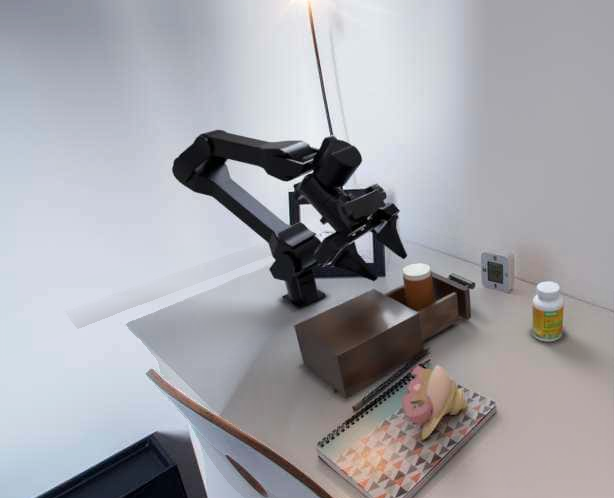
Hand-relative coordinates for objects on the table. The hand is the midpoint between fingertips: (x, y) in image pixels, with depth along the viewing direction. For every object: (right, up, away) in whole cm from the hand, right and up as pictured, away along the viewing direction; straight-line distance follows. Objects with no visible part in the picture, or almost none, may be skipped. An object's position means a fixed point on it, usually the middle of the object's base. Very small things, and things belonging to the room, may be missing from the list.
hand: (391, 268), depth 95 cm
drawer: (+6, -9, +4) cm, 12 cm away
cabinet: (-4, -16, -5) cm, 17 cm away
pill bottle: (+5, -9, +3) cm, 11 cm away
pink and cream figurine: (+10, -23, -18) cm, 31 cm away
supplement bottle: (+28, -12, +1) cm, 30 cm away
